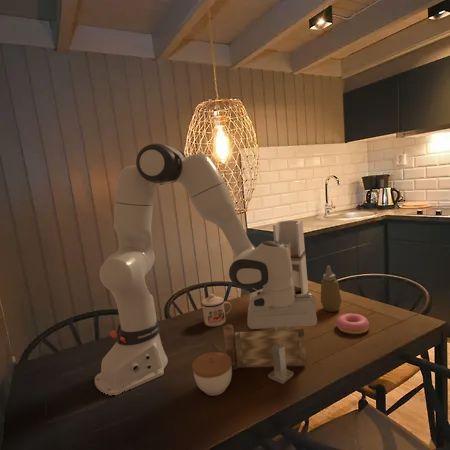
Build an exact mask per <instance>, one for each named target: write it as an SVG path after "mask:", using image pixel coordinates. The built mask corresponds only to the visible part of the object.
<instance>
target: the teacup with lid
mask: <svg viewBox="0 0 450 450" xmlns="http://www.w3.org/2000/svg"><path fill="white" fill-rule="evenodd" d="M225 305H228V309H227V311H226V310H225ZM201 306H202V312H203V320H204V324H205V326H207V327H219V326H222V325H223V324H225V322H226V321H227V319H226V315H227V314H229V313H230V312H231V311H232V304H231V303H230V302H229V301H225V300H224V298H223V297H221V296H218V295H217V296H216V295H215V294H214V293H210V294H209V296H208V297H206V298H204V299H203V300H202V301H201Z"/></svg>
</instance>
